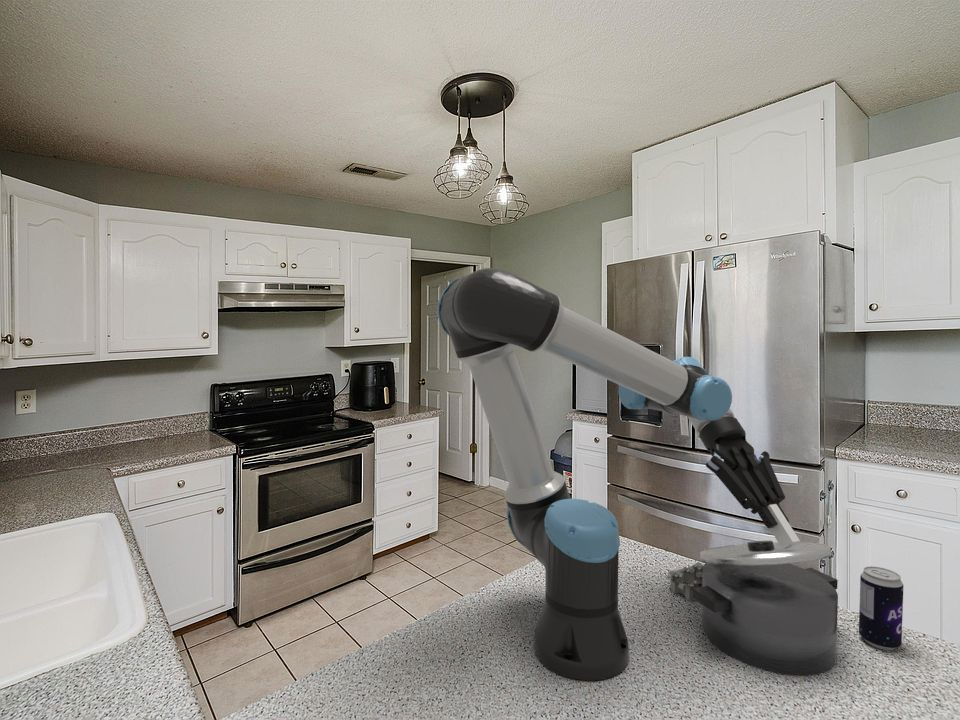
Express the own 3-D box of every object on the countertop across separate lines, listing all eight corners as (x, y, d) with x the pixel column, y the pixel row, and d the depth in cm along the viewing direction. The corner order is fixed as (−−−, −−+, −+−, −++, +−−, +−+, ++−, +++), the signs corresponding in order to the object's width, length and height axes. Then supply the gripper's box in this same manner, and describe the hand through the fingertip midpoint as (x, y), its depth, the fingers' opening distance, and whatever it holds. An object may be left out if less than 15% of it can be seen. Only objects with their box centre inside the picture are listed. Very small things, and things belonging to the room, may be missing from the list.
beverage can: (890, 656, 83) (892, 583, 82) (851, 638, 88) (853, 569, 87) (908, 647, 85) (910, 576, 85) (869, 629, 90) (871, 562, 90)
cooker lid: (762, 569, 76) (758, 552, 77) (676, 560, 95) (673, 546, 96) (862, 552, 82) (857, 536, 83) (762, 547, 101) (759, 534, 101)
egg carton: (692, 605, 99) (693, 584, 99) (662, 588, 106) (663, 569, 106) (730, 592, 104) (730, 572, 104) (699, 577, 111) (699, 558, 111)
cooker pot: (751, 691, 75) (752, 623, 74) (663, 619, 94) (664, 565, 93) (880, 657, 83) (882, 596, 82) (775, 597, 102) (776, 547, 101)
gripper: (733, 435, 103) (806, 549, 88) (678, 439, 99) (745, 559, 84) (755, 412, 98) (837, 530, 83) (698, 416, 94) (773, 540, 79)
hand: (791, 544), depth 84 cm, fingers closed
